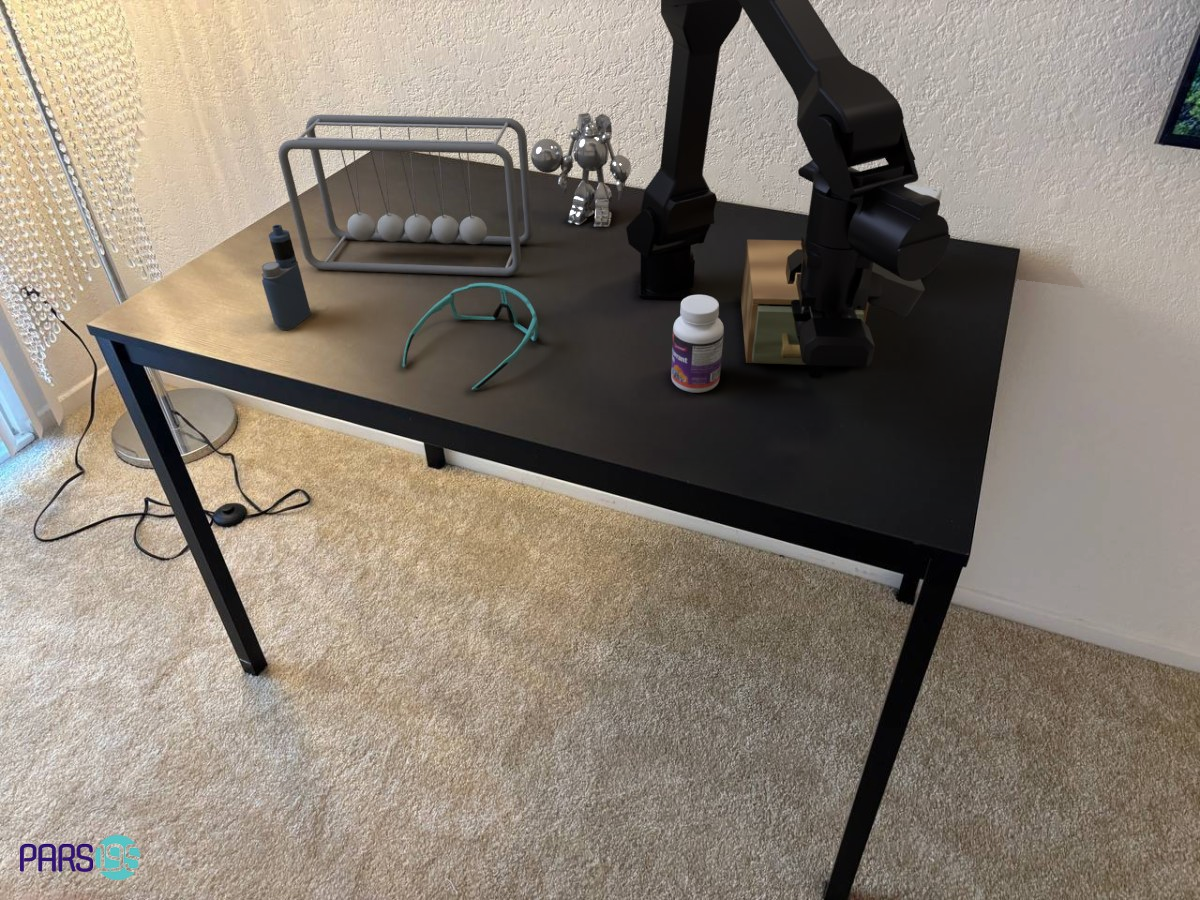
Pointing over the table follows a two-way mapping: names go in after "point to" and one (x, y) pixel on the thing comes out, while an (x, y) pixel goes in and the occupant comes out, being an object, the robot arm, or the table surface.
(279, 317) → the vaping device
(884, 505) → the table surface
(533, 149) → the robot toy
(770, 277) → the cabinet
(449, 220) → the newton's cradle
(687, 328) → the pill bottle
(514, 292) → the sunglasses
